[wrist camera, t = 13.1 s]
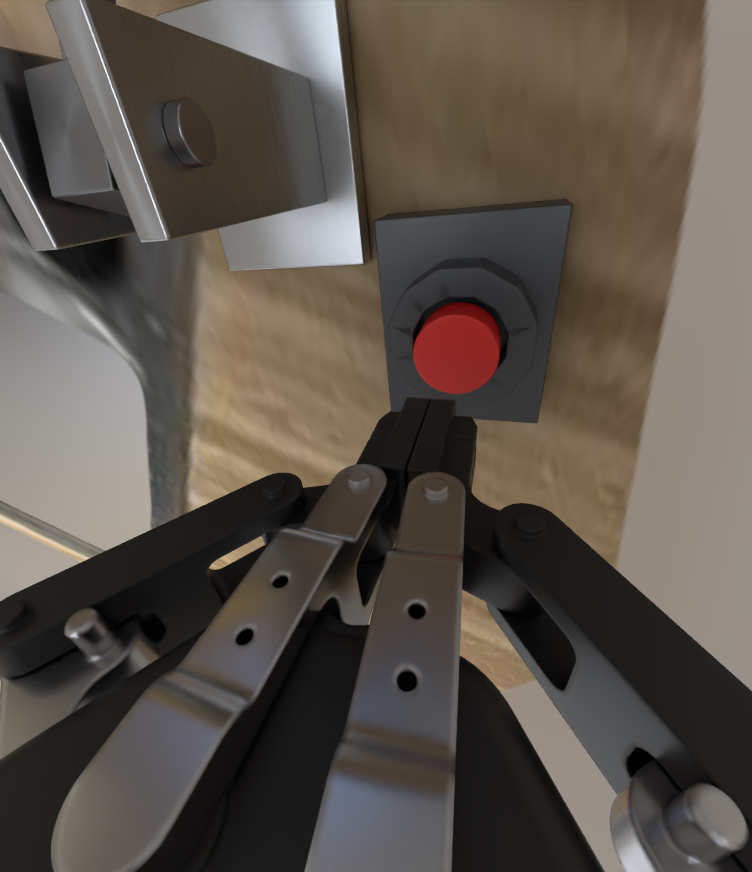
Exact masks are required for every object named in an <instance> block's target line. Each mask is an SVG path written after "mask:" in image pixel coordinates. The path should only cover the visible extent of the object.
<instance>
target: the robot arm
mask: <svg viewBox="0 0 752 872" xmlns="http://www.w3.org/2000/svg"><path fill="white" fill-rule="evenodd" d="M476 439H477V425H476V424H475V422H474V420H473V419H472V417H468V416H456V400H451V399H433V398H432V400H431V399H430V398H413V397H407V399H406V401H405V403H404V405H403V408H402V410H401V412H391V411H390V412H389V413H388V414H386V415H385V416H384V417H382V418H381V419H380V420H379V422H378V423H377V425H376V427H375V429H374V431H373V433H372V435H371V437H370V439H369V441H368V442H367V444H366V446H365V448H364V450H363V452H362V454H361V456H360V458H359V460H358V462H357V463H356V465H353V466H349V467H347V468H345V469H343V470H342V471H340V472H339V473H338V474H337V475H336V476H335V478H334V479H333V480H332V482H331V483H330V484H329V485H324V486H315V487H307V488H303V486H302V482H301V480H300V478H299V477H297V476H296V475H294V474H291V473H276V474H271V475H268V476H266V477H264V478H261V479H259V480H257V481H255V482H253V483H251V484H249V485H246V486H244V487H242V488H240V489H238V490H236V491H234V492H231V493H229V494H227V495H225V496H223V497H221V498H219V499H216V500H214V501H212V502H210V503H208V504H206V505H204V506H201V507H199V508H197V509H195V510H193V511H191V512H189V513H186V514H184V515H182V516H180V517H178V518H176V519H174V520H171V521H169V522H167V523H165V524H163V525H161V526H158V527H156V528H154V529H152V530H150V531H148V532H146V533H143V534H141V535H139V536H137V537H135V538H133V539H131V540H129V541H126V542H124V543H122V544H120V545H118V546H116V547H113V548H111V549H109V550H107V551H105V552H103V553H101V554H98V555H96V556H94V557H92V558H90V559H88V560H86V561H83V562H81V563H79V564H77V565H75V566H73V567H71V568H68V569H66V570H64V571H62V572H60V573H58V574H55V575H53V576H51V577H49V578H47V579H45V580H43V581H41V582H38V583H36V584H34V585H32V586H30V587H28V588H25V589H24V590H21V591H19V592H17V593H15V594H13V595H11V596H9V597H7V598H5V599H4V600H2V601H0V680H1V692H0V872H605V871H604V870H603V868H602V866H601V865H600V863H599V861H598V859H597V857H596V856H595V854H594V852H593V850H592V849H591V847H590V845H589V843H588V842H587V840H586V838H585V836H584V835H583V833H582V831H581V829H580V828H579V826H578V824H577V822H576V821H575V819H574V817H573V815H572V814H571V812H570V810H569V808H568V807H567V805H566V803H565V802H564V800H563V798H562V796H561V794H560V793H559V791H558V789H557V787H556V786H555V784H554V782H553V780H552V779H551V777H550V775H549V773H548V772H547V770H546V769H545V766H544V765H543V763H542V761H541V760H540V758H539V756H538V754H537V752H536V751H535V749H534V747H533V745H532V744H531V742H530V740H529V738H528V737H527V735H526V733H525V731H524V730H523V728H522V726H521V724H520V723H519V721H518V719H517V717H516V716H515V714H514V712H513V711H512V709H511V707H510V706H509V704H508V702H507V701H506V700H505V698H504V697H503V695H502V694H501V693H500V691H499V690H498V689H497V687H496V686H495V685H494V684H493V683H492V682H491V681H490V680H489V679H488V677H487V676H486V675H485V674H484V673H482V672H481V671H480V670H479V669H478V668H477V667H476V666H475V665H473V664H472V663H470V662H469V661H468V660H466V659H465V658H463V657H462V656H460V629H461V603H462V590H464V591H466V592H468V593H470V594H472V595H474V596H476V597H478V598H480V599H482V600H483V601H485V602H486V603H487V607H488V610H489V612H490V613H491V615H492V617H493V618H494V619H495V621H496V622H497V624H498V625H499V627H500V628H501V629H502V631H503V632H504V634H505V635H506V637H507V638H508V639H509V641H510V642H511V644H512V645H513V647H514V648H515V649H516V651H517V652H518V654H519V655H520V657H521V658H522V659H523V661H524V662H525V664H526V665H527V667H528V668H529V669H530V671H531V672H532V674H533V675H534V677H535V678H536V679H537V681H538V682H539V684H540V685H541V687H542V688H543V689H544V691H545V692H546V694H547V695H548V697H549V698H550V699H551V701H552V702H553V704H554V705H555V707H556V708H557V709H558V711H559V712H560V714H561V715H562V717H563V718H564V719H565V721H566V722H567V724H568V725H569V726H570V728H571V729H572V731H573V732H574V734H575V735H576V737H577V738H578V739H579V741H580V742H581V744H582V745H583V747H584V748H585V749H586V751H587V752H588V754H589V755H590V757H591V758H592V759H593V761H594V762H595V764H596V765H597V767H598V768H599V769H600V771H601V772H602V774H603V775H604V777H605V778H606V779H607V781H608V782H609V784H610V785H611V787H612V788H613V789H614V791H615V792H616V794H617V797H616V798H615V800H614V802H613V804H612V807H611V813H610V831H611V837H612V841H613V844H614V848H615V851H616V854H617V856H618V859H619V861H620V863H621V865H622V867H623V869H624V871H625V872H752V691H751V690H750V689H749V688H748V687H746V686H745V685H744V684H743V683H742V682H741V681H740V680H739V679H737V678H736V677H735V676H734V675H733V674H732V673H731V672H730V671H729V670H727V669H726V668H725V667H724V666H723V665H722V664H720V663H719V662H718V661H717V660H716V659H715V658H714V657H713V656H712V655H711V654H710V653H708V652H707V651H706V650H705V649H704V648H703V647H702V646H701V645H699V644H698V643H697V642H696V641H695V640H694V639H693V638H692V637H691V636H689V635H688V634H687V633H686V632H685V631H684V630H683V629H681V628H680V627H679V626H678V625H677V624H676V623H675V622H674V621H673V620H672V619H670V618H669V617H668V616H667V615H666V614H665V613H664V612H663V611H661V610H660V609H659V608H658V607H657V606H656V605H655V604H654V603H653V602H651V601H650V600H649V599H648V598H647V597H646V596H645V595H644V594H642V593H641V592H640V591H639V590H638V589H637V588H636V587H635V586H634V585H632V584H631V583H630V582H629V581H628V580H627V579H626V578H625V577H623V576H622V575H621V574H620V573H619V572H618V571H617V570H616V569H615V568H613V567H612V566H611V565H610V564H609V563H608V562H607V561H606V560H605V559H603V558H602V557H601V556H600V555H599V554H598V553H597V552H596V551H594V550H593V549H592V548H591V547H590V546H589V545H588V544H587V543H586V542H584V541H583V540H582V539H581V538H580V537H579V536H578V535H577V534H575V533H574V532H573V531H572V530H571V529H570V528H569V527H568V526H567V525H565V524H564V523H563V522H562V521H561V520H560V519H559V518H558V517H556V516H555V515H554V514H553V513H551V512H550V511H548V510H547V509H544V508H542V507H540V506H536V505H532V504H525V503H518V504H512V505H509V506H506V507H504V508H503V509H501V510H500V511H499V510H497V509H494V508H491V507H489V506H487V505H485V504H483V503H482V502H480V501H479V500H478V499H477V498H476V497H475V496H474V495H473V494H472V492H471V491H472V484H473V476H474V469H475V456H476ZM260 536H262V537H263V540H264V543H265V545H264V546H262V547H260V548H258V549H257V550H255V551H253V552H251V553H249V554H247V555H246V556H244V557H242V558H240V559H238V560H237V561H235V562H233V563H231V564H229V565H227V566H226V567H224V568H221V569H218V570H212V569H209V566H210V565H211V564H212V563H213V562H214V561H215V560H217V559H219V558H220V557H222V556H224V555H226V554H228V553H230V552H232V551H234V550H235V549H237V548H239V547H241V546H243V545H245V544H247V543H248V542H250V541H252V540H254V539H256V538H258V537H260ZM395 541H396V542H395ZM394 544H395V546H394ZM373 607H374V608H373ZM372 609H373V612H372ZM371 612H372V617H371V621H370V625H368V622H369V618H370V614H371Z"/></svg>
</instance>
